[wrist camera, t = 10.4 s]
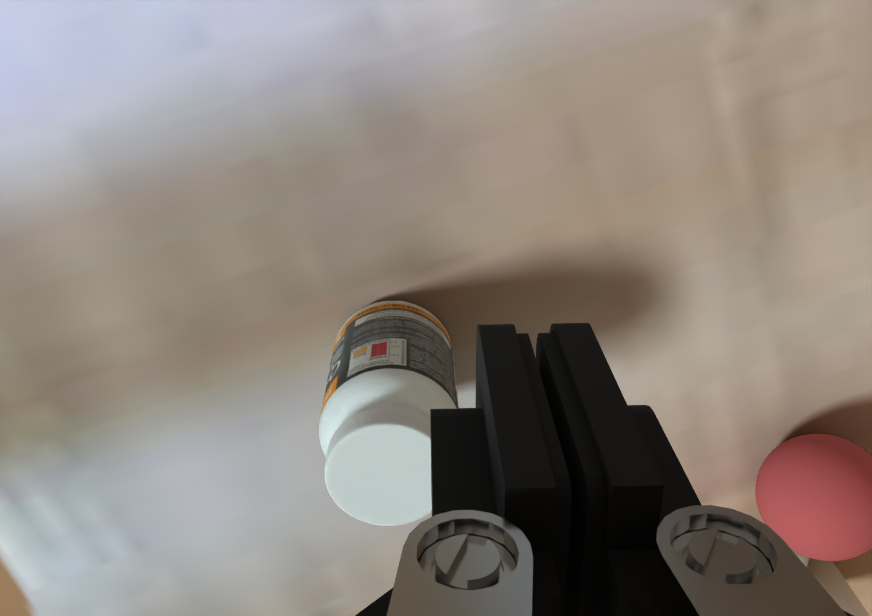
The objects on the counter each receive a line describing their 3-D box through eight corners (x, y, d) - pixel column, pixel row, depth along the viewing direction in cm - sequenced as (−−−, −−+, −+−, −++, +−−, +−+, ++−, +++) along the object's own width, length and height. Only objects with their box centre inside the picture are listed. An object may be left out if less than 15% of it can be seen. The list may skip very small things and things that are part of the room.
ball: (748, 566, 40) (727, 447, 42) (863, 560, 40) (837, 442, 42) (803, 562, 34) (776, 425, 36) (937, 555, 34) (903, 419, 36)
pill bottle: (317, 314, 37) (284, 433, 28) (434, 282, 36) (440, 392, 27) (356, 413, 39) (338, 553, 30) (467, 384, 38) (482, 517, 29)
